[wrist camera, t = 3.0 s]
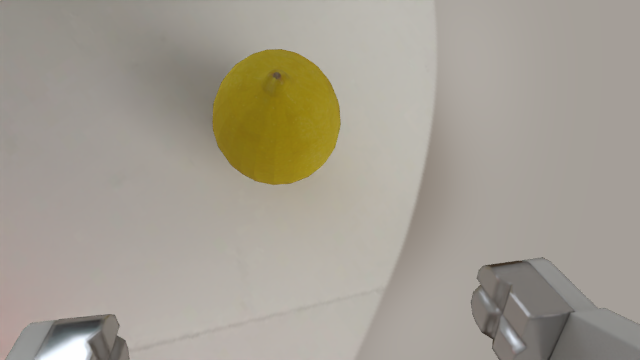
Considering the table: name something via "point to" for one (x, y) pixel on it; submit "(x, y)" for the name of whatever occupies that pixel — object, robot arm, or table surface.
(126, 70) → the table surface
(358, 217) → the table surface
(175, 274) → the table surface
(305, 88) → the fruit
